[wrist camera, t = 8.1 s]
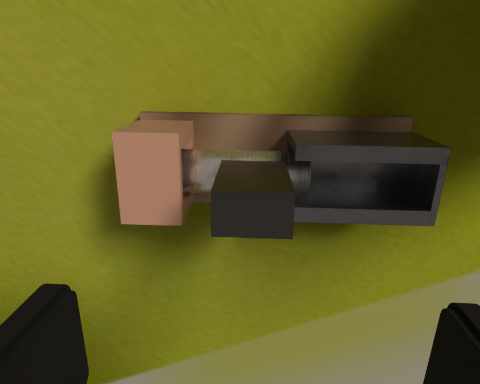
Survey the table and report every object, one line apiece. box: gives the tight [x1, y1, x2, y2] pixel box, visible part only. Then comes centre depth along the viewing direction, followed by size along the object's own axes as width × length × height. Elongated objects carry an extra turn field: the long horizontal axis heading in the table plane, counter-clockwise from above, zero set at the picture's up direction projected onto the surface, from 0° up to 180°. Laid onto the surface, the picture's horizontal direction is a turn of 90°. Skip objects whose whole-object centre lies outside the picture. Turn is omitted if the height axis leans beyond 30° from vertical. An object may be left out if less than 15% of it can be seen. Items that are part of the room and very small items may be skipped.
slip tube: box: [181, 149, 311, 239], centre depth 21 cm, size 11×3×9 cm, turn 89°
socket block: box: [112, 120, 195, 226], centre depth 24 cm, size 4×6×6 cm, turn 179°
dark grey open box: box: [286, 130, 451, 226], centre depth 24 cm, size 9×5×6 cm, turn 89°
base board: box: [139, 111, 413, 203], centre depth 27 cm, size 20×7×1 cm, turn 89°
